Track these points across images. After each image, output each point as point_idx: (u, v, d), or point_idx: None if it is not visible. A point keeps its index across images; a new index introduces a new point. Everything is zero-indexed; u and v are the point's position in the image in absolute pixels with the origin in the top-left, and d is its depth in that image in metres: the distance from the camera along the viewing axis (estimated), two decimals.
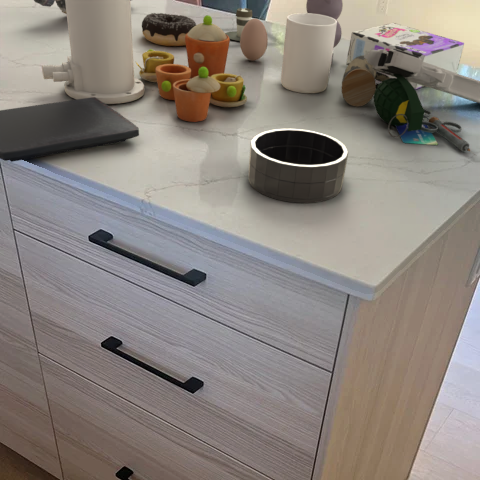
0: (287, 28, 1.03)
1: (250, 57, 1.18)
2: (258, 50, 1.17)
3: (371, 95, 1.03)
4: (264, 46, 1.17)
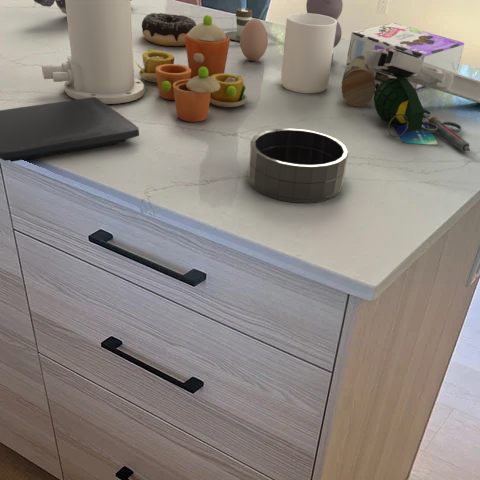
0: (287, 28, 1.03)
1: (250, 57, 1.18)
2: (258, 50, 1.17)
3: (371, 95, 1.03)
4: (264, 46, 1.17)
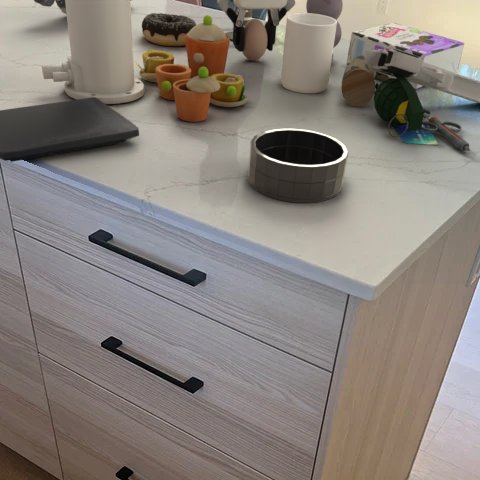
0: (287, 28, 1.03)
1: (250, 57, 1.18)
2: (258, 50, 1.17)
3: (371, 95, 1.03)
4: (264, 46, 1.17)
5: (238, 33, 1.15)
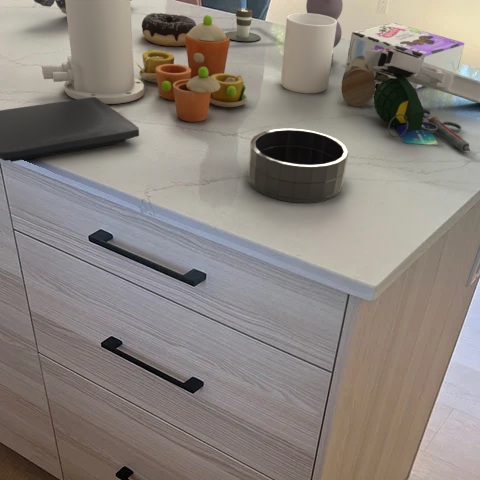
0: (287, 28, 1.03)
1: None
2: None
3: (371, 95, 1.03)
4: None
5: None
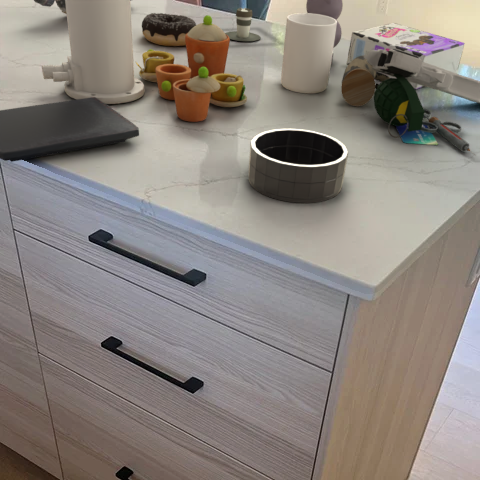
0: (287, 28, 1.03)
1: None
2: None
3: (371, 95, 1.03)
4: None
5: None
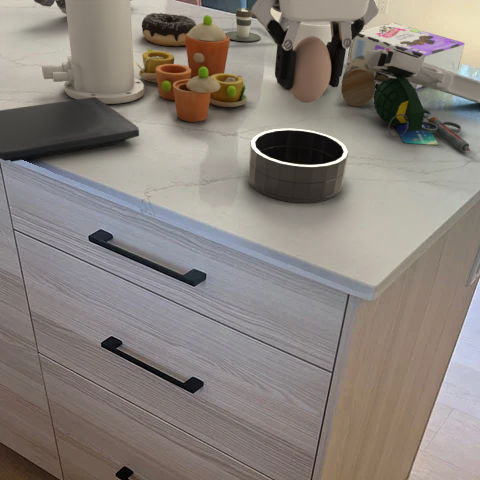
0: None
1: (303, 98, 0.73)
2: (316, 87, 0.72)
3: (371, 95, 1.03)
4: (326, 81, 0.72)
5: (285, 60, 0.70)
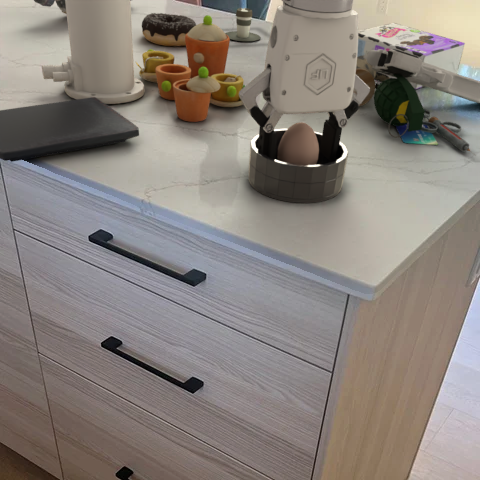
0: None
1: None
2: None
3: (371, 95, 1.03)
4: (314, 161, 0.79)
5: (267, 141, 0.76)
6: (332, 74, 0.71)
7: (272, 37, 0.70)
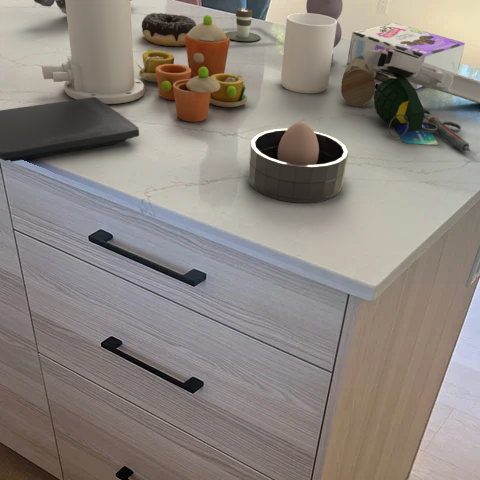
0: (287, 28, 1.03)
1: None
2: None
3: (370, 95, 1.03)
4: (314, 161, 0.79)
5: None
6: None
7: None
